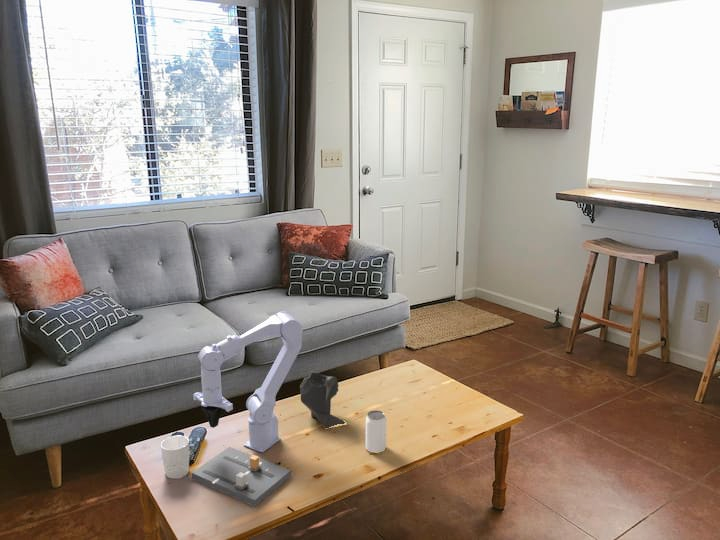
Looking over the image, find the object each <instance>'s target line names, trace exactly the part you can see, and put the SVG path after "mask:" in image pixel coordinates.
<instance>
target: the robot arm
mask: <svg viewBox="0 0 720 540" xmlns="http://www.w3.org/2000/svg"><path fill="white" fill-rule="evenodd" d="M303 333H304V330H303V327H302V325H301V323H300V322H299V321H298V320H296V319H295V318H294V317H293V316H292V315H291V313H289V312H288V311H284V310H283V311H282V310H281V311H279V312H278V313H276V314H274V315H270V317H268V318H267V319H266V320H265V321H263V322H261V323H260V324H258V325H256V326H255V327H253V328H251V329H249V330H247V331H246V332H244V333H243V334H241V335H236V334H233V335H230V334H229V335H227V336H226V338H224V340H221V341H219V342H217V343H212V344H211V345H210V346H209V345H207V346H204V347H203V348H201V350H200V351H199V353H198V355H197V358H198V361H199V363H201V364H200V371H201V372H200V378H201V390H202V391H201V392H199V391H197V392H194V394H192V396H193V401H199V402H200V404H201V411H202V412H203V413H204V414H205V416H206V419H207V421H208V424H209V426H210V428H213V429H214V428H216V427H218V426H219V423H220V422H219V421H220V419H221V418H220V417H221V414H222V412H223V410H225V412H228V413H229V412H230V411H233V409H234V407H233V403H231V402H230V401H229V400H227V399H226V398H225V397H223V391H222V390H223V389H222V375H221V366H222V364H223V363H224V362H226V361H227V360H229V359H232V358H233V357H235V356H236V355H238V354H240V353H242V352H244V349H245V348H246V346H248V345H251V344H252V343H255V342H257V341H259V340H261V339H263V338H266V337H268V336H271V337H274V338H275V337H276V338H281V340H282V342H283V345H282V347H281V349H280V351H279V353H278V354H277V356H276V358H275V360H274V362H273V364H272V366H271V368H270V370H269V371H268V373H267V375H266V377H265V378H264V381H263V383H262V384H261V386H260V387H259V388H256V389H255V391H254V392H253V394H251V395H250V396H249V397H248V398H247V400H246V403H245V406H246V409H247V410H248V411H249V415H248V420H247V421H248V440H247V441H246V442H244V443H243V446H244V447H247V448H249V449H252V450H254V451H258V452H260V453H264V452H265V451H267V450H268V449H270V448H271V447H272V446H273V445H274V444H277V443H278V442H279V441H280V440H281V437H280V436H279V420H278V418H277V416H276V415H275V414H274V409H275V407H276V396H277V393H278V392H279V390H280V388H281V387H282V385H283V383H284V381H285V379H286V378H287V376H288V373H289V371H290V370H291V368H292V366H293V364H294V362H295V360H296V359H297V357H298V354H300V353H299V352H300V351H301V349H302V347H303V346H302V345H303V341H302V340H303V338H302V335H303Z"/></svg>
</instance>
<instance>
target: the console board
mask: <svg viewBox="0 0 720 540" xmlns="http://www.w3.org/2000/svg"><path fill="white" fill-rule="evenodd" d="M252 456H253V455H252V454H250V453H248V452H247V453H246V452H244V451H241V450H239V449H236V448H234V447H231V446H229V447H227V448H225V449H224V450H223V451H221V452H220V453H218V454H216V455H215V456H214V457H212V458H210V459H209V460H208V461H206V462H205V463H204V464H202V465H200V466H199V467H197V468H196V469H194V470H193V471H192V472H190V474H191V479H192V480H193V481H196V482H198V483H201V484H204V485H206V486H208V487H210V488H212V489H213V490H217V491H219V492H221V493H224V494H227V495H228V496H230V497H233V498H235V499H238V500H240V501H241V502H244V503H246V504H249V505H250V506H253V507H256V506H257V505H259V504H260V503H261V502H262V501H263V500H264V499H266V498H267V497H268V496H269V495H270V494H272V493H273V492H274V491H275V490H277V489H278V488H279V487H280V486H281V485H283V484H284V483H285V482H286V481H287V480H288V479H290V478H291V476H292V473H291V470H290V469H288V468H285V467H284V466H281V465H277V464H275V463H272V462H270V461H268V460H264V459H262V458H260V457H259V465H261V466H262V467H261V468H260V469H259V470H258V471H256V472H255V471H252V470H250V469H248V467H249V466H250V457H252ZM240 472H241V473H244V474H246V482H247V483H249V485H248V486H247V487H245V488H244V489H243V490H241V489H238V488H236V487H234V485H235V484H236V475H237V474H238V473H240Z"/></svg>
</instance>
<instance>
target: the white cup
mask: <svg viewBox="0 0 720 540" xmlns="http://www.w3.org/2000/svg"><path fill="white" fill-rule="evenodd" d="M160 448H161V449H160V450H161V456H162V457H161V458H162V463H163V467H164V474H165V476H166V477H167V478H169V479H173V480H174V479H176V480H177V479H182V478H183V477H185V476H187V475H188V473H189V471H190V441H189V438H188V437H187V436H184V435H178V434H177V435H172V436H169V437H166V438H165V439H163V440H162V441H161V442H160Z"/></svg>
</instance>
